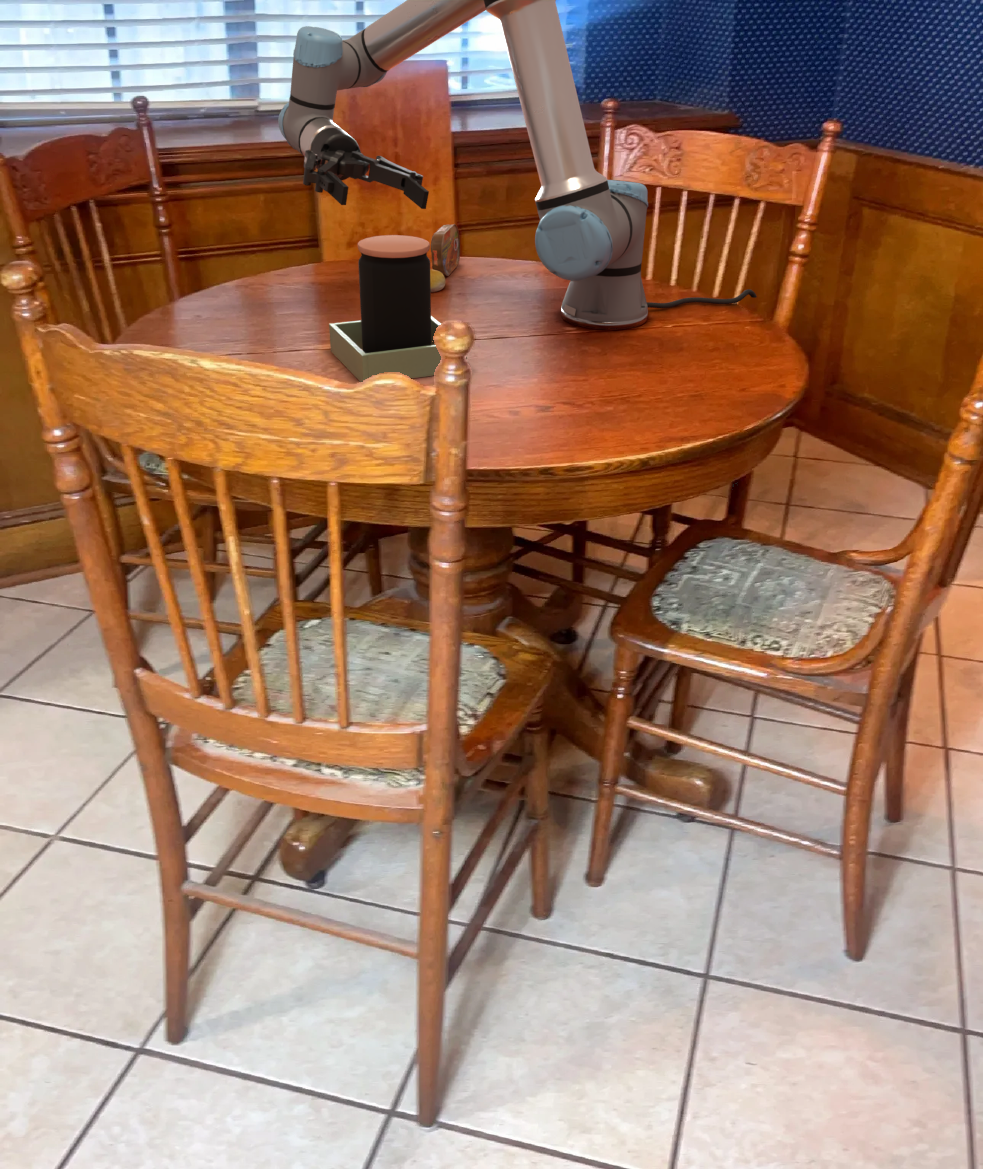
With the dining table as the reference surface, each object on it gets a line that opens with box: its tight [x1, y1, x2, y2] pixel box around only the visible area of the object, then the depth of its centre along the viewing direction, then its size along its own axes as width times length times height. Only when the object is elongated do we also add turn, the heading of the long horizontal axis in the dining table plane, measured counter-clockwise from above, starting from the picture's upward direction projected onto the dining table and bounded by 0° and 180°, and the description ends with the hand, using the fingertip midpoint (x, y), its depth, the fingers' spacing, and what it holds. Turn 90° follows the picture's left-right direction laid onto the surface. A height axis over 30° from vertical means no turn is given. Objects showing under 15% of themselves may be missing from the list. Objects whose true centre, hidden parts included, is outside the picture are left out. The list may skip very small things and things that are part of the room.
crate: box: [328, 315, 468, 383], centre depth 161 cm, size 17×17×4 cm
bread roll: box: [430, 268, 446, 293], centre depth 198 cm, size 8×9×4 cm
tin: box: [430, 223, 461, 277], centre depth 208 cm, size 15×3×8 cm, turn 168°
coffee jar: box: [357, 234, 432, 353], centre depth 158 cm, size 11×11×18 cm
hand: (386, 198), depth 157 cm, fingers open, 13 cm apart
